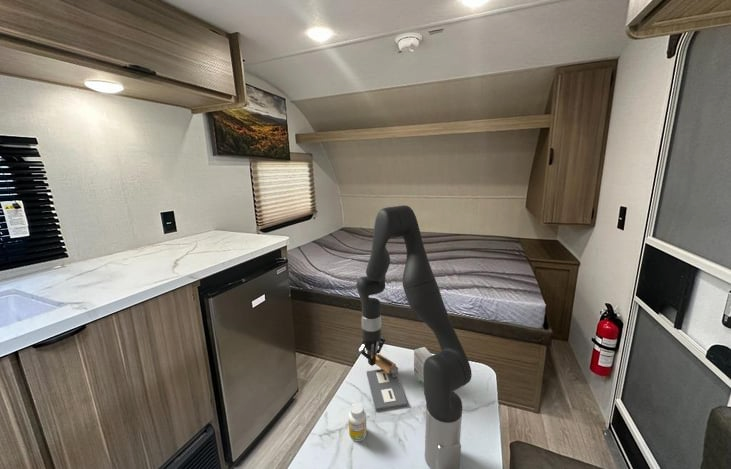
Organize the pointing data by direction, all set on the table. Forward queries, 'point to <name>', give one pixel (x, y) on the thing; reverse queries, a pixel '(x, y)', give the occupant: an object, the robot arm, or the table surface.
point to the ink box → (420, 363)
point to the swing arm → (386, 364)
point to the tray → (385, 390)
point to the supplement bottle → (357, 422)
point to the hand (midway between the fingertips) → (372, 364)
